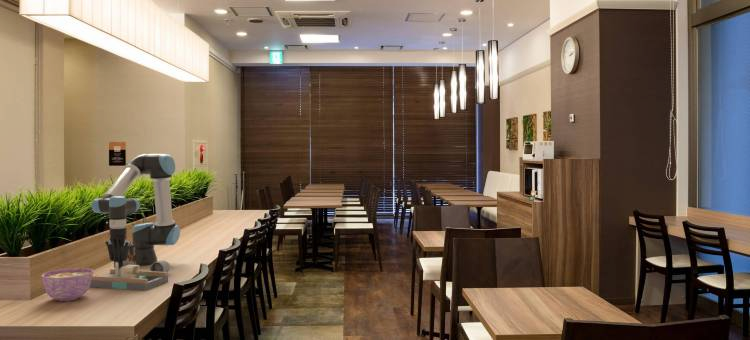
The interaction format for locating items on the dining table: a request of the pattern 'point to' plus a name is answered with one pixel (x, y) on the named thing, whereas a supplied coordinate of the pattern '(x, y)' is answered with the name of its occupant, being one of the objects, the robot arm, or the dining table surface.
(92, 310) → the dining table surface
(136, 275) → the maple block
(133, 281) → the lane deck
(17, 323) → the dining table surface
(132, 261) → the coffee box
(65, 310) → the dining table surface
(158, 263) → the ceramic mug
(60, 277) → the bowl of food
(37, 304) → the dining table surface
